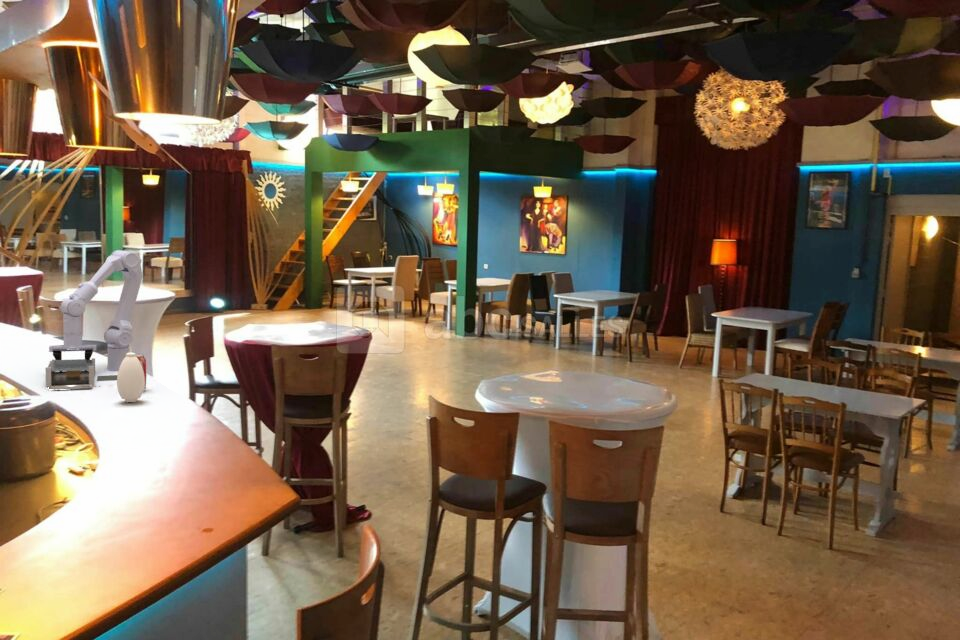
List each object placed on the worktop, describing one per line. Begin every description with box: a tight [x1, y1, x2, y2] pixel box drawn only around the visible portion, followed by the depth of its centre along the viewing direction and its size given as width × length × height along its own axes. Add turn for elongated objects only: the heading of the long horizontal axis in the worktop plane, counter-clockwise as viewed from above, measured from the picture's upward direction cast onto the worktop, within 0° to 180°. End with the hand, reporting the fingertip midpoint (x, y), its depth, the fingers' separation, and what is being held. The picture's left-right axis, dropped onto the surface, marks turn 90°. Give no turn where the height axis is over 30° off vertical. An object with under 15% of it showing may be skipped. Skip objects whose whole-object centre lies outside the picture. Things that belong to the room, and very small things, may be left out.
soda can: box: [124, 352, 147, 390], centre depth 254 cm, size 7×7×12 cm
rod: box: [48, 383, 94, 390], centre depth 252 cm, size 13×2×2 cm, turn 115°
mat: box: [96, 374, 118, 382], centre depth 270 cm, size 9×9×1 cm
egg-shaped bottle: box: [116, 344, 145, 403], centre depth 238 cm, size 8×8×18 cm
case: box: [45, 357, 96, 388], centre depth 265 cm, size 24×14×7 cm, turn 25°
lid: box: [47, 358, 96, 372], centre depth 261 cm, size 15×14×3 cm
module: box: [66, 370, 82, 376], centre depth 272 cm, size 4×4×5 cm
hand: (73, 371), depth 272 cm, fingers open, 7 cm apart
